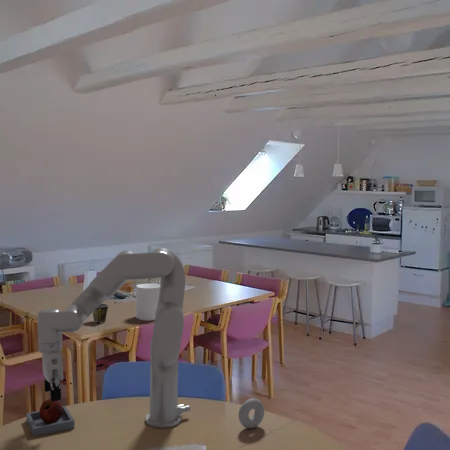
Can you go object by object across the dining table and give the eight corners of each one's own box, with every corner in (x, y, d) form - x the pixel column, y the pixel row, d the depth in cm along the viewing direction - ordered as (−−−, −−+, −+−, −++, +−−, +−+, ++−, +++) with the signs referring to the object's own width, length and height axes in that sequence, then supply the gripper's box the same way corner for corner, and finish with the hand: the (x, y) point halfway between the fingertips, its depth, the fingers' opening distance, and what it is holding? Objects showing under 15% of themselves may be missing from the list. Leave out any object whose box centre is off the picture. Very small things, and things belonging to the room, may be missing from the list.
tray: (65, 413, 182) (65, 405, 181) (74, 427, 170) (74, 420, 170) (26, 420, 175) (26, 413, 175) (33, 436, 164) (33, 428, 164)
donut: (260, 422, 177) (261, 394, 177) (266, 426, 174) (266, 397, 174) (236, 428, 172) (236, 400, 171) (241, 433, 169) (242, 403, 169)
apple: (34, 424, 171) (34, 401, 171) (51, 415, 178) (51, 393, 178) (50, 429, 168) (50, 405, 167) (67, 420, 175) (67, 397, 174)
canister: (165, 318, 319) (166, 287, 317) (141, 321, 311) (141, 289, 309) (155, 313, 332) (156, 282, 331) (132, 315, 324) (132, 284, 323)
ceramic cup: (90, 320, 311) (90, 304, 311) (107, 319, 314) (107, 303, 314) (91, 325, 299) (91, 308, 298) (109, 324, 302) (109, 307, 301)
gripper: (68, 350, 165) (70, 402, 167) (56, 337, 180) (58, 385, 181) (44, 354, 162) (46, 407, 163) (34, 341, 177) (36, 389, 178)
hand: (52, 395), depth 172 cm, fingers open, 9 cm apart
